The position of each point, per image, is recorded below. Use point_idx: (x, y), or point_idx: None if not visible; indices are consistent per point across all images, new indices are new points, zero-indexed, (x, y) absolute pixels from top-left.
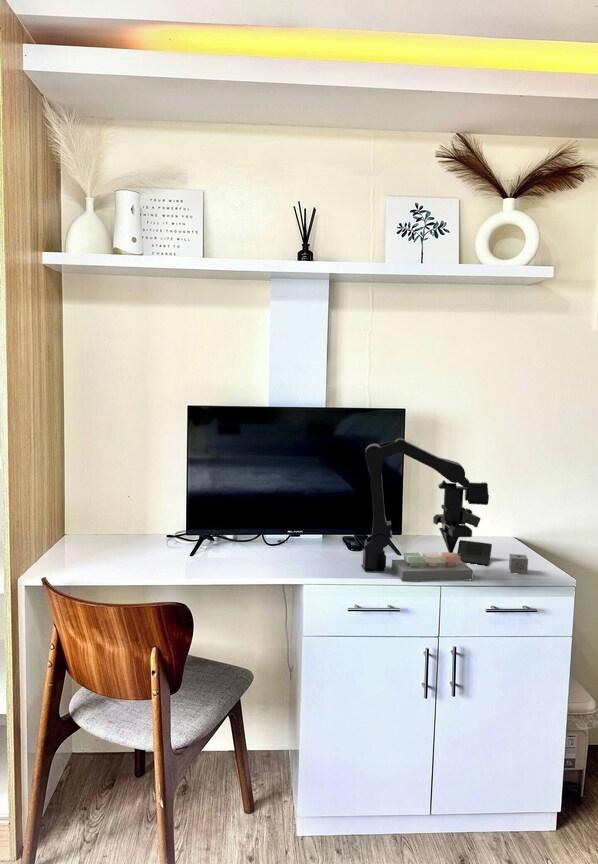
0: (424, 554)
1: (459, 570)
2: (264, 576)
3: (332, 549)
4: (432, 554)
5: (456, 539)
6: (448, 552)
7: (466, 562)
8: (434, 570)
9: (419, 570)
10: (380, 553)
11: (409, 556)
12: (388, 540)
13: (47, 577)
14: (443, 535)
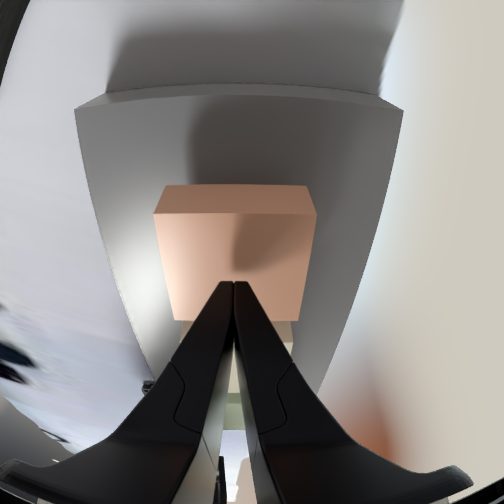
0: (230, 392)
1: (381, 207)
2: (237, 469)
3: (39, 403)
4: (231, 369)
5: (320, 418)
6: (167, 273)
7: (15, 28)
8: (339, 327)
9: (320, 369)
10: (223, 457)
11: None
12: (219, 495)
13: (233, 500)
14: (215, 481)
